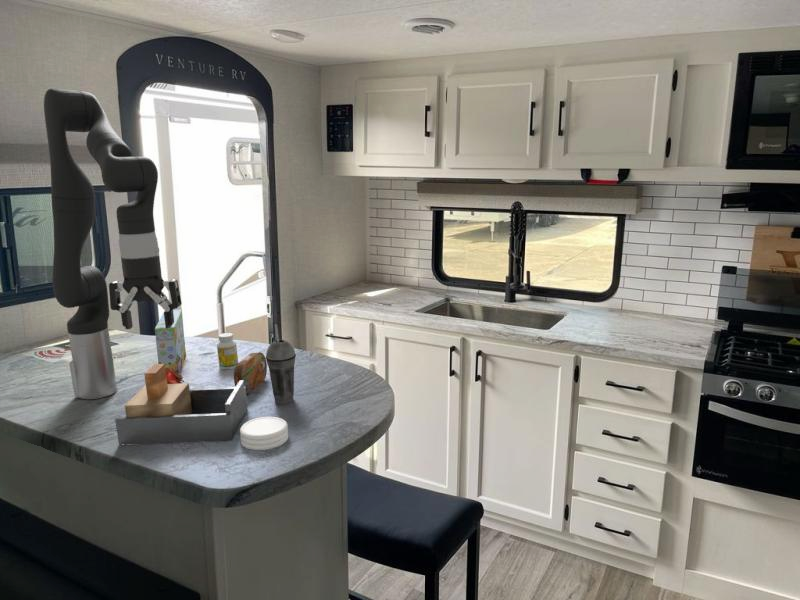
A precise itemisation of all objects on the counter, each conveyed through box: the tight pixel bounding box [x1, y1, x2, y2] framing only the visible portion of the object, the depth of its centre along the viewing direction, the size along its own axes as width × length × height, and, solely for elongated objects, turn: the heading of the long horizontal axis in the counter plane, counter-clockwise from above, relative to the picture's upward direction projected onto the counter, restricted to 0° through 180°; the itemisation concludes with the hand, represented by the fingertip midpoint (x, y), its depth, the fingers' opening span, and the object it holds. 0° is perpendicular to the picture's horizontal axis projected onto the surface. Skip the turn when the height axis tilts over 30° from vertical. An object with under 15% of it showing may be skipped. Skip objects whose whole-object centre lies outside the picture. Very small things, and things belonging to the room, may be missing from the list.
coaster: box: [239, 416, 289, 451], centre depth 132 cm, size 10×10×4 cm
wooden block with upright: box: [124, 363, 192, 417], centre depth 137 cm, size 10×12×13 cm
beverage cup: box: [265, 323, 297, 405], centre depth 150 cm, size 7×7×20 cm
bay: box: [114, 380, 248, 446], centre depth 138 cm, size 24×16×8 cm, turn 92°
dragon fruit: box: [165, 367, 185, 384], centre depth 156 cm, size 8×8×12 cm
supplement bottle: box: [216, 332, 239, 370], centre depth 177 cm, size 5×5×10 cm
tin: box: [233, 351, 268, 395], centre depth 161 cm, size 15×3×8 cm, turn 168°
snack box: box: [154, 309, 187, 375], centre depth 177 cm, size 21×6×15 cm, turn 14°
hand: (149, 327), depth 133 cm, fingers open, 8 cm apart
